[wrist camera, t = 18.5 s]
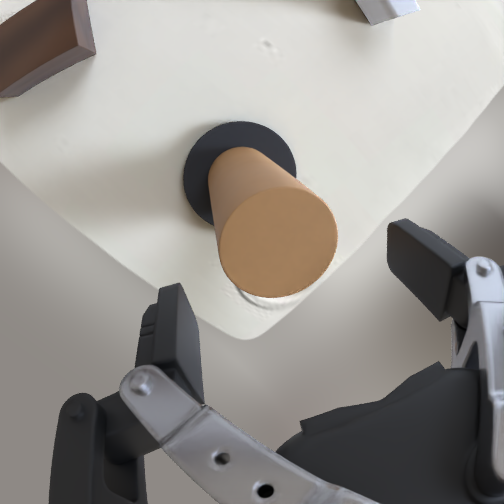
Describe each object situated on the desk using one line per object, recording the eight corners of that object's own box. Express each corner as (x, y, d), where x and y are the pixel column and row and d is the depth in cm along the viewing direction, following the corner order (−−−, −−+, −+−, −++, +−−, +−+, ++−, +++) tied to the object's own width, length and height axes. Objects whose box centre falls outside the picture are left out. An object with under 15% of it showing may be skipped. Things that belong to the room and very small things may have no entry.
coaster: (225, 247, 26) (226, 250, 26) (161, 165, 22) (160, 166, 21) (312, 190, 25) (315, 192, 24) (257, 100, 21) (258, 99, 20)
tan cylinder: (311, 300, 22) (366, 259, 10) (244, 320, 22) (227, 301, 10) (266, 165, 25) (268, 53, 14) (207, 180, 25) (175, 73, 13)
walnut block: (96, 53, 16) (78, 45, 13) (18, 96, 16) (-8, 98, 13) (86, -3, 14) (69, -19, 10) (9, 41, 13) (-16, 36, 10)
